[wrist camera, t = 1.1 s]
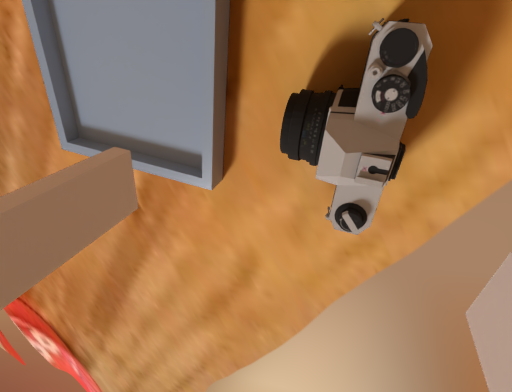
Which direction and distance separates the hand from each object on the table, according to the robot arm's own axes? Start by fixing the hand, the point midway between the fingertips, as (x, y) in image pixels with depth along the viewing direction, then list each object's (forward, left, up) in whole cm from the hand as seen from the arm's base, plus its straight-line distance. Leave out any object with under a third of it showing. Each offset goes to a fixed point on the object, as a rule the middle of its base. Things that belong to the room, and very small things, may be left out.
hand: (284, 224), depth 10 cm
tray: (-18, +1, -15) cm, 24 cm away
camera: (+1, 0, -16) cm, 16 cm away
